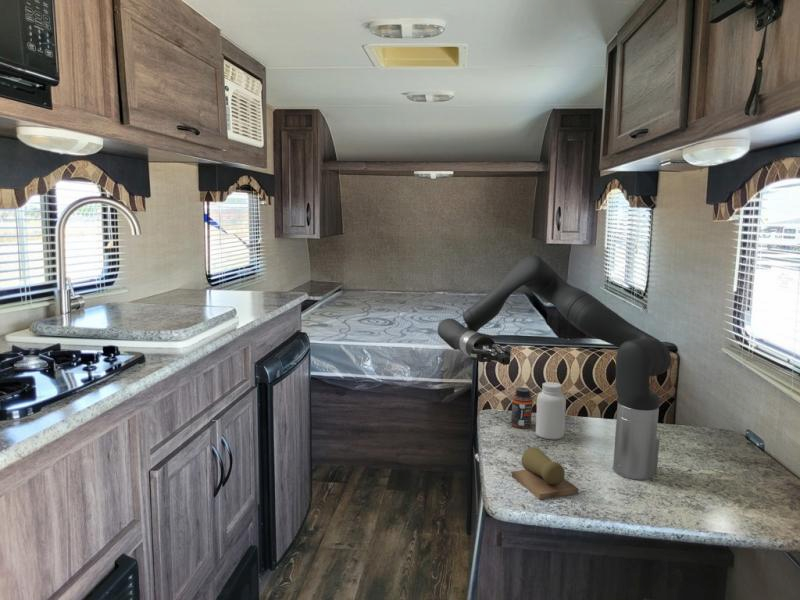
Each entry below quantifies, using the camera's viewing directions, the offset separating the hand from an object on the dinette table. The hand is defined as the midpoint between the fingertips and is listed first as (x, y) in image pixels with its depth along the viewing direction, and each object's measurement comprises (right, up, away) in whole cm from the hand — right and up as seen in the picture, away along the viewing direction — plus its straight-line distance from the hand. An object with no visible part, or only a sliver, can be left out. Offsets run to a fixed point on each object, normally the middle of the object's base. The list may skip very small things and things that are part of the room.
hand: (507, 361), depth 147 cm
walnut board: (+6, -27, -15) cm, 31 cm away
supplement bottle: (+9, -22, +24) cm, 33 cm away
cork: (+5, -23, -8) cm, 25 cm away
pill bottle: (+15, -23, +16) cm, 32 cm away
